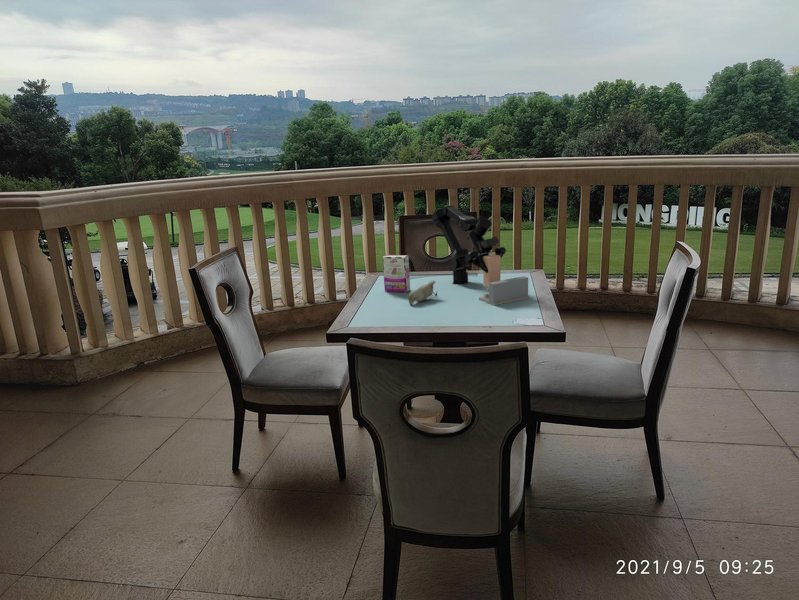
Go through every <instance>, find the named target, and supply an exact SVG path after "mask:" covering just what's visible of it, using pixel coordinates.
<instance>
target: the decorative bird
mask: <svg viewBox="0 0 799 600" xmlns="http://www.w3.org/2000/svg"><path fill="white" fill-rule="evenodd" d="M435 283H437V282H436V280H435V279H433V280H430V281H429V282H428V283H426V284H424V285H421V286H419V287H418V288H416V289H414V290H412V291H410V293H409V294H408V303H409V305H410V306H412V305H413V304H414V303H415V302H417V303H418V302H423V301H426V300H427V299H428V298H430V297H432V296H433V297H435V298H437V297H438V291H436V293H435V291H434V285H435Z"/></svg>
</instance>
